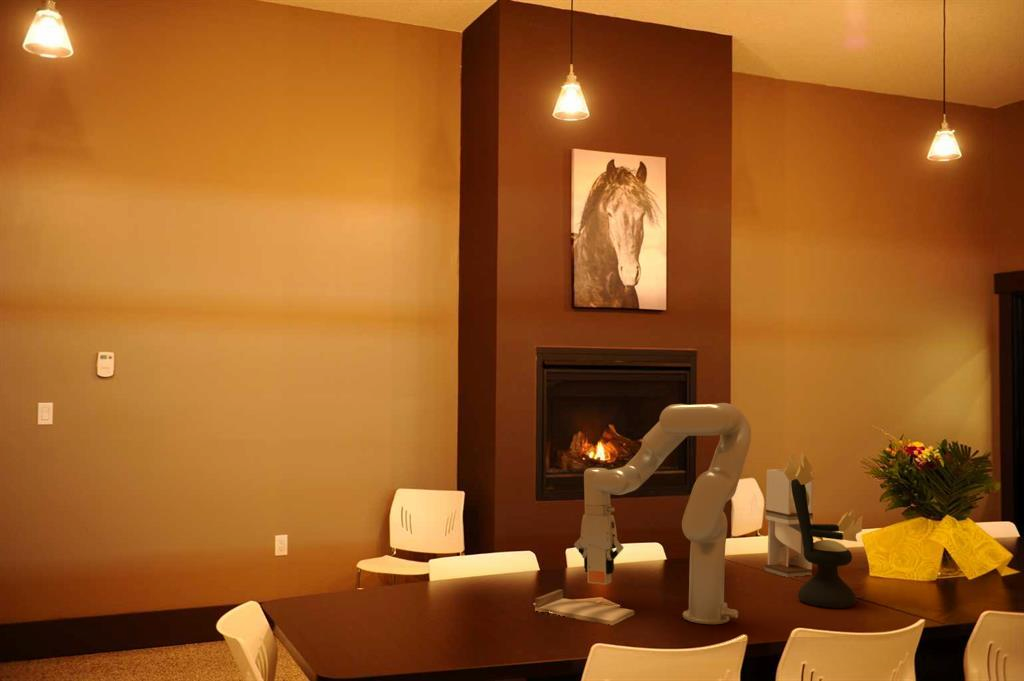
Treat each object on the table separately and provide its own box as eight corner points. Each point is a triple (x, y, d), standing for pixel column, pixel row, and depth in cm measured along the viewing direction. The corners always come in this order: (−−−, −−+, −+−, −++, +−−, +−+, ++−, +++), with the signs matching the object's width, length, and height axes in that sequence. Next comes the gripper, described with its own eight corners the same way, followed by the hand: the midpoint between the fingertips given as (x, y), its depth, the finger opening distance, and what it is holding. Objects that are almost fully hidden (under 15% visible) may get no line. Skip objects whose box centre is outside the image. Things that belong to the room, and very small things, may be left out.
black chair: (863, 613, 279) (866, 456, 280) (784, 607, 283) (786, 453, 284) (854, 598, 297) (856, 451, 298) (779, 592, 302) (782, 448, 303)
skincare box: (587, 583, 281) (586, 542, 282) (592, 580, 285) (591, 540, 285) (606, 585, 278) (605, 543, 279) (612, 582, 282) (610, 541, 283)
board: (634, 614, 270) (634, 601, 270) (612, 625, 258) (612, 611, 258) (559, 601, 282) (559, 589, 283) (534, 611, 271) (535, 598, 271)
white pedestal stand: (764, 570, 335) (766, 469, 336) (788, 568, 339) (790, 468, 340) (787, 577, 325) (789, 473, 326) (811, 575, 329) (813, 472, 330)
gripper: (630, 510, 281) (631, 572, 280) (577, 507, 290) (578, 568, 289) (618, 513, 275) (620, 577, 274) (565, 510, 284) (566, 572, 283)
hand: (599, 571), depth 282 cm, fingers closed on skincare box, 6 cm apart
